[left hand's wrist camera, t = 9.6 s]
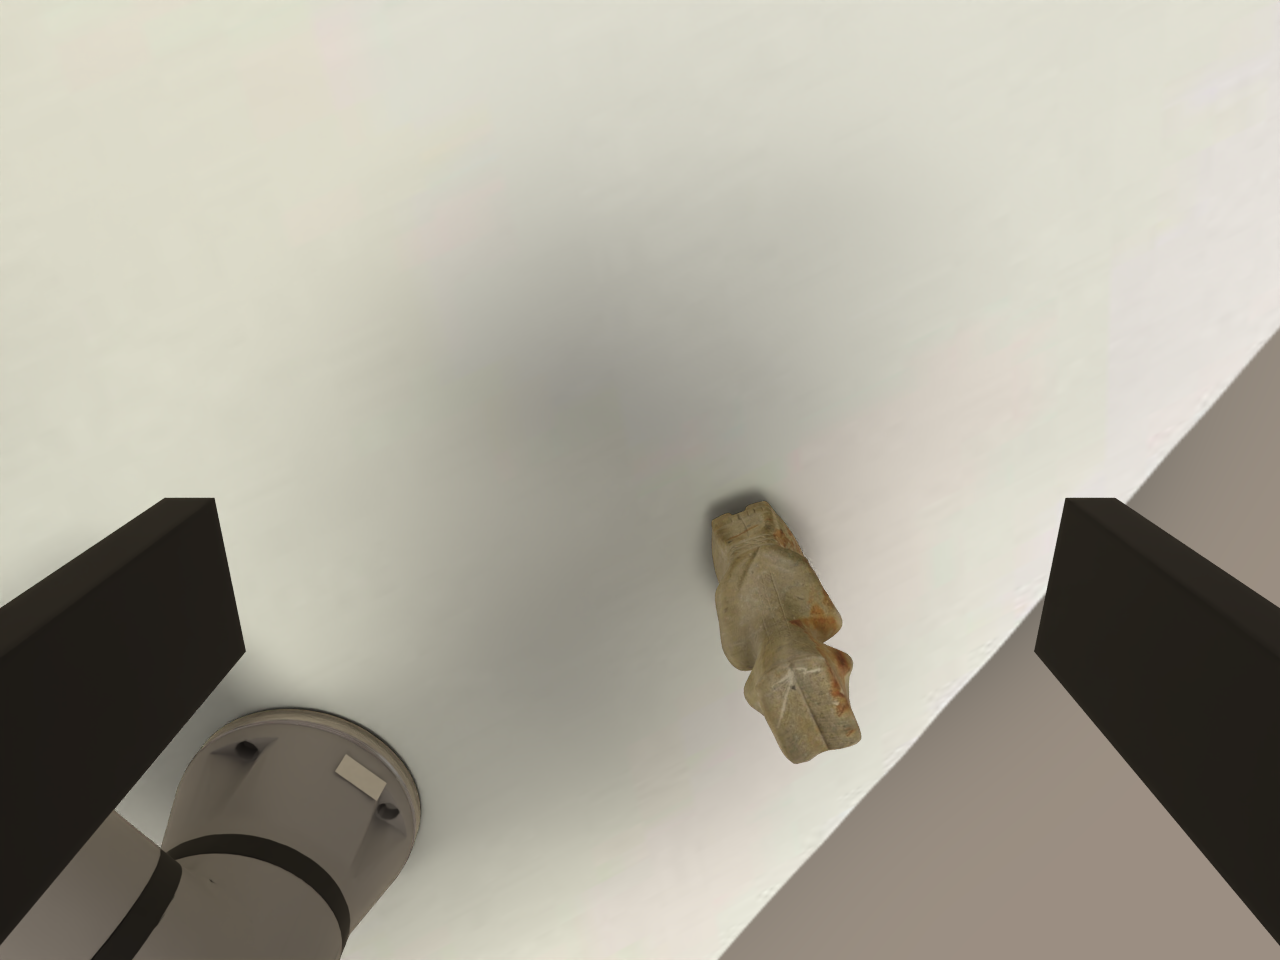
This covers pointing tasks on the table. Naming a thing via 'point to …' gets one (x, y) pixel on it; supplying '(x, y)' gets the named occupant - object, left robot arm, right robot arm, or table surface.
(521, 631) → the table surface
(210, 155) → the table surface
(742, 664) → the sculpture
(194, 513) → the left robot arm
